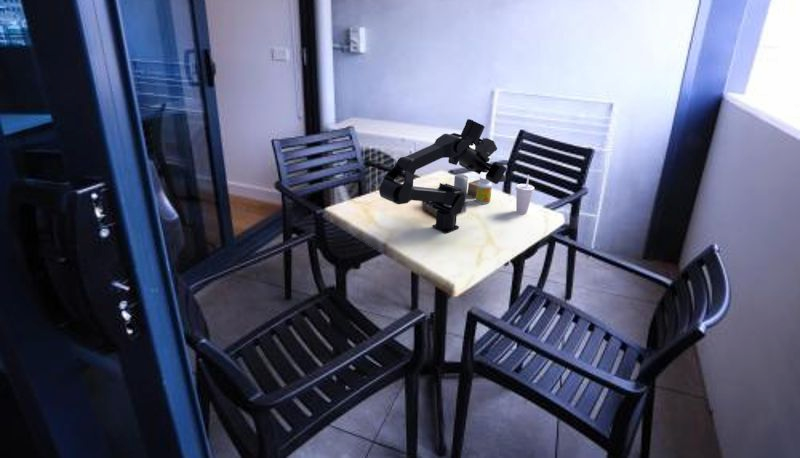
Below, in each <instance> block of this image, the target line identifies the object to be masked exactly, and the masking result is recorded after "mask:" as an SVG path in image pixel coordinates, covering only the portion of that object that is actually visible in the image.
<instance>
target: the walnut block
mask: <svg viewBox="0 0 800 458" xmlns="http://www.w3.org/2000/svg"><path fill="white" fill-rule="evenodd" d="M478 182H480V179H477V180H473V181H469V182H467V196H470V197H473V198H475V199H476V193H477V184H478Z"/></svg>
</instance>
